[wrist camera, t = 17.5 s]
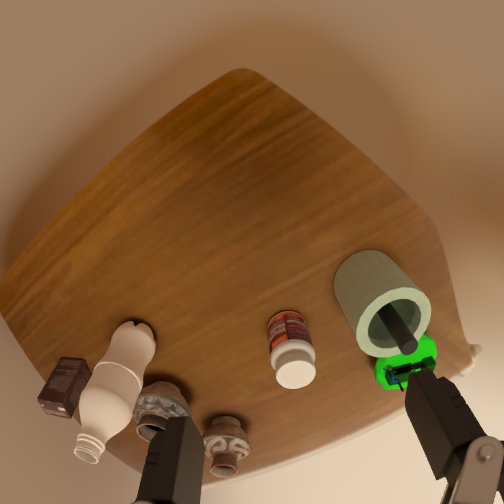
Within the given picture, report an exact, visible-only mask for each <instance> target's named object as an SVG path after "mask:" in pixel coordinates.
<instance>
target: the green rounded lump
mask: <svg viewBox="0 0 504 504" xmlns="http://www.w3.org/2000/svg"><path fill="white" fill-rule="evenodd" d="M435 358H436V343H435V341H434V340H433V339H432V338H431V337H430V336H429V335H428V334H427V333H424V334H423V335H422V336H421V338H420V339H419V340H418V348H417V350H416V351H415V352H414V353H412V354H411V355H403V354H402V353H400V354H398V355H394V356H391V357H380V358H378V357H377V359H376V364H375V368H374V373H375V379H376V381H377V382H378V383H379V384H380V385H381V386H382V387H384V388H385V389H386V390H392V389H399V388H400V389H401V391H402V392H403V391H404V389H403V388H406V387H407V384H408V377H409V375H410V374H411V373H414V372H417V371H420V370H423V369H426V368H430V369H431V370H432V372H433V371H434V369H435V365H436V361H435Z"/></svg>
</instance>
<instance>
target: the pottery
mask: <svg viewBox="0 0 504 504" xmlns="http://www.w3.org/2000/svg"><path fill="white" fill-rule="evenodd" d="M179 416H190V417H191V411H190V408H189V405H188V403H187V401H186V400H185V398H184V397H183V396H182V395H181V393H180V390H179V388H178V387H176V386H175V385H174V384H172V383H169V382H165V381H158V382H155V383H153V384H152V385H150V386H146V387H144V388H142V389H141V392H140V393H139V395H138V397H137V400H136V403H135V406H134V409H133V412H132V418H133V419H134V420H135V421H136V422H137V423H138V425H137V428H136V431H137V433H138V435H139V436H140V437H141V438H143V439H144V440H146V441H148V442H150V441H151V440H152V438H153V437H154V436H155V434H156V433H157V431H165V428H166V423H167V420H168V418H169V417H179ZM202 438H203V441H204V446H205V455H206V456H207V457H209V458H211V459H213V463H212V466H211V468H210V472H211V473H212V474H213V475H215V476H218V477H223V478H229V477H233V476H236V475H237V474H238V469H237V466H236V461H237V460H240V459H242V458H244V457H246V456H247V455H248V454H249V453H250V451H251V444H250V441H249V439H248V437H247V435H246V433H245V432H244V430H243V429H242V428H240V422H239V420H237V419H236V418H234V417H230V416H221V417H218V418H216V419H214V420H213V422H212V426H211V427H209V428H208V429H207V430H206V432H205V433H204V434H203V436H202Z"/></svg>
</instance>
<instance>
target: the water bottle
mask: <svg viewBox="0 0 504 504" xmlns="http://www.w3.org/2000/svg"><path fill="white" fill-rule="evenodd" d="M155 349H156V342H155V340H154V339H153V333H152V331H151V329H150V328H149V327H148V326H147V325H146V324H143V323H140V324H138V325H137V326H135V325H134V322H133V321H129V322H126V323H124V324H122V325H121V326H119V327H118V328H117V329H116V331H115V332H114V334H113V336H112V340H111V344H110V347H109V349H108V351H107V353H106V354H105V356H104V357H103V358H102V359H101V360H100V361H99V362H98V363H97V364H96V366H95V368H94V372H93V374H92V376H91V378H90V380H89V381H88V383H87V385H86V387H85V389H84V390H83V391H82V393H81V396H80V401H79V409H80V417H81V423H82V430H81V433H79V434H78V436H77V438H78V439H77V444H76V447H75V449H74V453H75V455H77V457H79V458H80V459H81V460H83V461H85V462H88V463H91V464H96V463H97V462H98V460H99V457H100V454H102V453H103V451H104V450H105V443H106V442H107V441H108V440H109V439H110V438H111V437H113V436H114V435H116V434H117V433H119V432H120V431H121V430H123V429H124V428H125V427H126V426H127V425H128V423H129V422H130V420H131V418H132V412H133V409H134V406H135V403H136V400H137V397H138V395H139V393H140V392H141V389H142V386H143V374H144V371H145V368H146V366H147V365H148V363H149V362H150V361H151V360H152V358H153V356H154V352H155Z"/></svg>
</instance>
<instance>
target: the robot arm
mask: <svg viewBox="0 0 504 504" xmlns="http://www.w3.org/2000/svg"><path fill="white" fill-rule="evenodd" d="M405 408H406V412H407V415H408V417H409V419H410V421H411V423H412V425H413V428H414V430H415V432H416V434H417V436H418V439H419V441H420V443H421V446H422V448H423V450H424V452H425V455H426V457H427V459H428V462H429V464H430V466H431V469H432V471H433V474H434V476H435V478H436V480H439V479H441V478H443V477H446V479H447V482H448V484H447V486H446V489H445V492H444V495H443V497H442V500H441V503H440V504H493V502H494V498H495V494H496V491H499V492H500V494H501V497H502V499H503V502H504V441H499V440H498V439H496V438H494V437H490V436H487V434H485V432H484V431H483V429H482V427H481V426H480V424H479V422H478V421H477V419H476V417H475V416H474V414H473V413H472V411H471V409H470V408H469V406H468V405H467V404H466V402H465V400H464V398H463V397H462V396H461V394H460V392H459V390H458V389H457V388H456V386H455V384H454V383H452V382H451V381H449V380H448V379H446V378H445V377H441V378H438V379H437V378H436V376H435V375H434V373H433V372H432V370H431V369H430V368H426V369H423V370H420V371H417V372H414V373H411V374H410V375H409V377H408V384H407V390H406V397H405ZM204 456H205V446H204V441H203V438H202V437H201V435H200V433H199V431H198V430H197V428H196V426H195V424H194V422H193V421H192V419H191V417H190V416H179V417H169V418H168V420H167V423H166V428H165V431H157V433H156V434H155V436H154V437H153V438H152V440H151V441H150V445H149V449H148V455H147V457H146V461H145V463H146V464H145V465H144V469H143V473H142V478H141V482H140V486H139V490H138V495H137V498H136V500H135V502H133V503H131V504H200V496H201V486H202V476H203V466H204Z"/></svg>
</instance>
